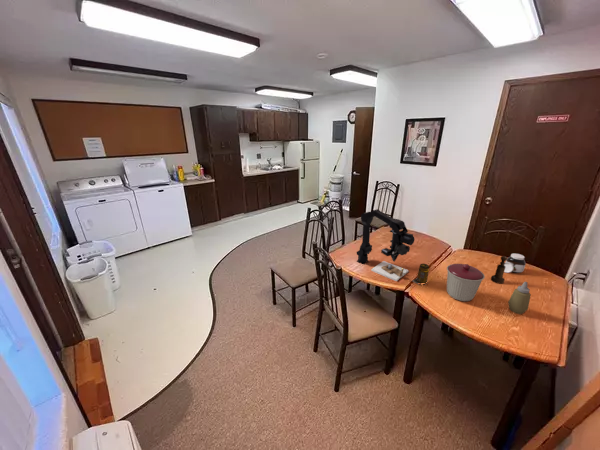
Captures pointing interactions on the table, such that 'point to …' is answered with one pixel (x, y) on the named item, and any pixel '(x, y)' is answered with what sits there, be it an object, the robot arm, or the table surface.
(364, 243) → the robot arm
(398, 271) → the block
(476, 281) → the canister
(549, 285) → the table surface
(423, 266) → the condiment
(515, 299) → the squeeze bottle
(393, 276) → the board
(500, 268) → the pepper mill
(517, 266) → the spread jar
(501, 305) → the table surface
